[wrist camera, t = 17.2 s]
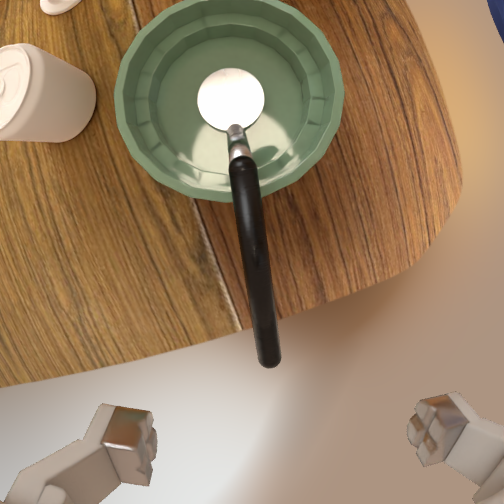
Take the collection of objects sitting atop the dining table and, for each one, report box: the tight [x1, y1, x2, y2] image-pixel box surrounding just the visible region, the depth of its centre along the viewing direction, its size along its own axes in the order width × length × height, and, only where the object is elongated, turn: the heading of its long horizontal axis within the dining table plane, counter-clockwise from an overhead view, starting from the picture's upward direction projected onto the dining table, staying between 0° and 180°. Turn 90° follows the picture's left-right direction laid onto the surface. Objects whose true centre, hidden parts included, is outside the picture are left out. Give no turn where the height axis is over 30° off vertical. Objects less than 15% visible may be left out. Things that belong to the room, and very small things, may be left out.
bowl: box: [114, 0, 345, 203], centre depth 25 cm, size 18×18×7 cm
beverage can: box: [0, 43, 96, 143], centre depth 21 cm, size 8×8×12 cm
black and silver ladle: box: [197, 68, 281, 368], centre depth 25 cm, size 24×6×11 cm, turn 8°
